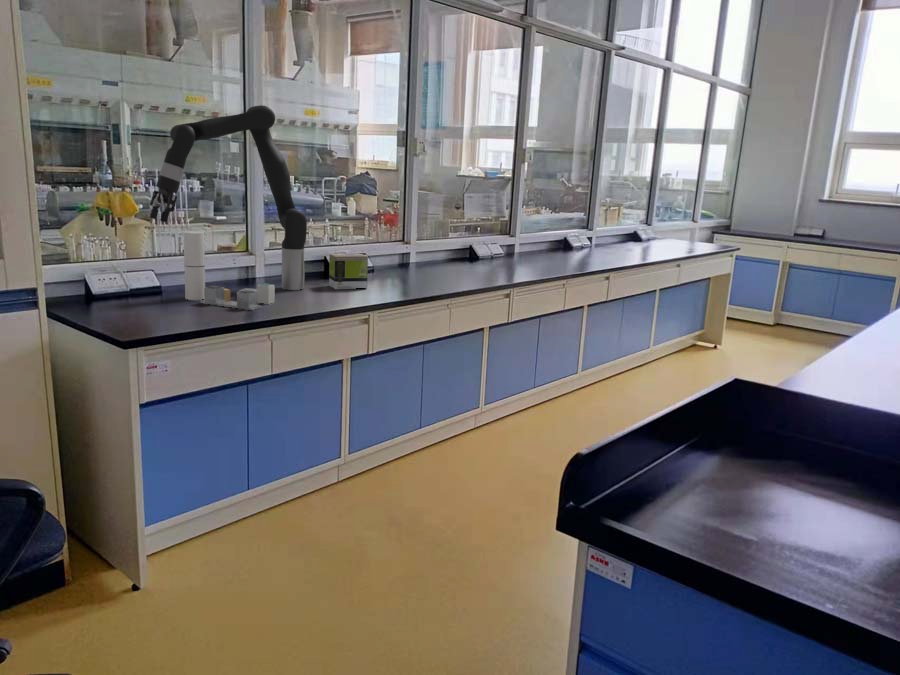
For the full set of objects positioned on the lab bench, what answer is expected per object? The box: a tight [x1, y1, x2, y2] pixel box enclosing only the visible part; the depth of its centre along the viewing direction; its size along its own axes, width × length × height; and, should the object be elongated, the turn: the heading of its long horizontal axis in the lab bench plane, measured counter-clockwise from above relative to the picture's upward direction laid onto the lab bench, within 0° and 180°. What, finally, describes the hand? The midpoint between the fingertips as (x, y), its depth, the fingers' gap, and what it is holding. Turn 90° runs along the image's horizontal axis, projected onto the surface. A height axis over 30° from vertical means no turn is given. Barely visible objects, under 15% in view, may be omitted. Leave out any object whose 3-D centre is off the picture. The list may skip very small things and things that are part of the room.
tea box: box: [328, 253, 369, 290], centre depth 303 cm, size 15×10×15 cm
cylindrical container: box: [183, 230, 206, 301], centre depth 258 cm, size 7×7×25 cm
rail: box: [199, 285, 262, 311], centre depth 252 cm, size 6×22×6 cm, turn 71°
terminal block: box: [224, 287, 231, 301], centre depth 262 cm, size 3×4×4 cm
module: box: [256, 282, 276, 305], centre depth 260 cm, size 4×5×7 cm
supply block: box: [238, 287, 257, 292], centre depth 268 cm, size 6×6×4 cm
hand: (157, 220), depth 254 cm, fingers open, 8 cm apart
